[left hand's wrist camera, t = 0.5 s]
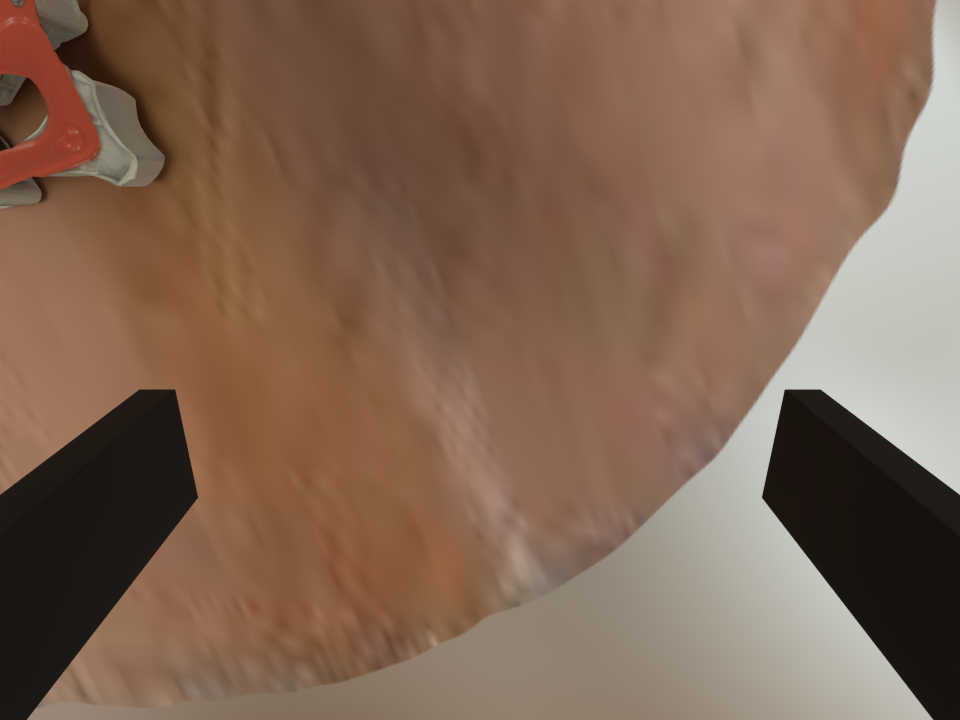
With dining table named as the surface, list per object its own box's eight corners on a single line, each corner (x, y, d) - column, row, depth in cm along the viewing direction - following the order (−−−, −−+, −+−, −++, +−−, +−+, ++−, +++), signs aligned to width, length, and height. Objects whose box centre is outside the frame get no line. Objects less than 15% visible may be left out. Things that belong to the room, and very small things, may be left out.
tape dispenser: (-39, -203, 31) (-132, 137, 36) (-141, -279, 26) (-233, 129, 31) (258, -12, 34) (133, 281, 39) (217, -48, 29) (80, 296, 34)
